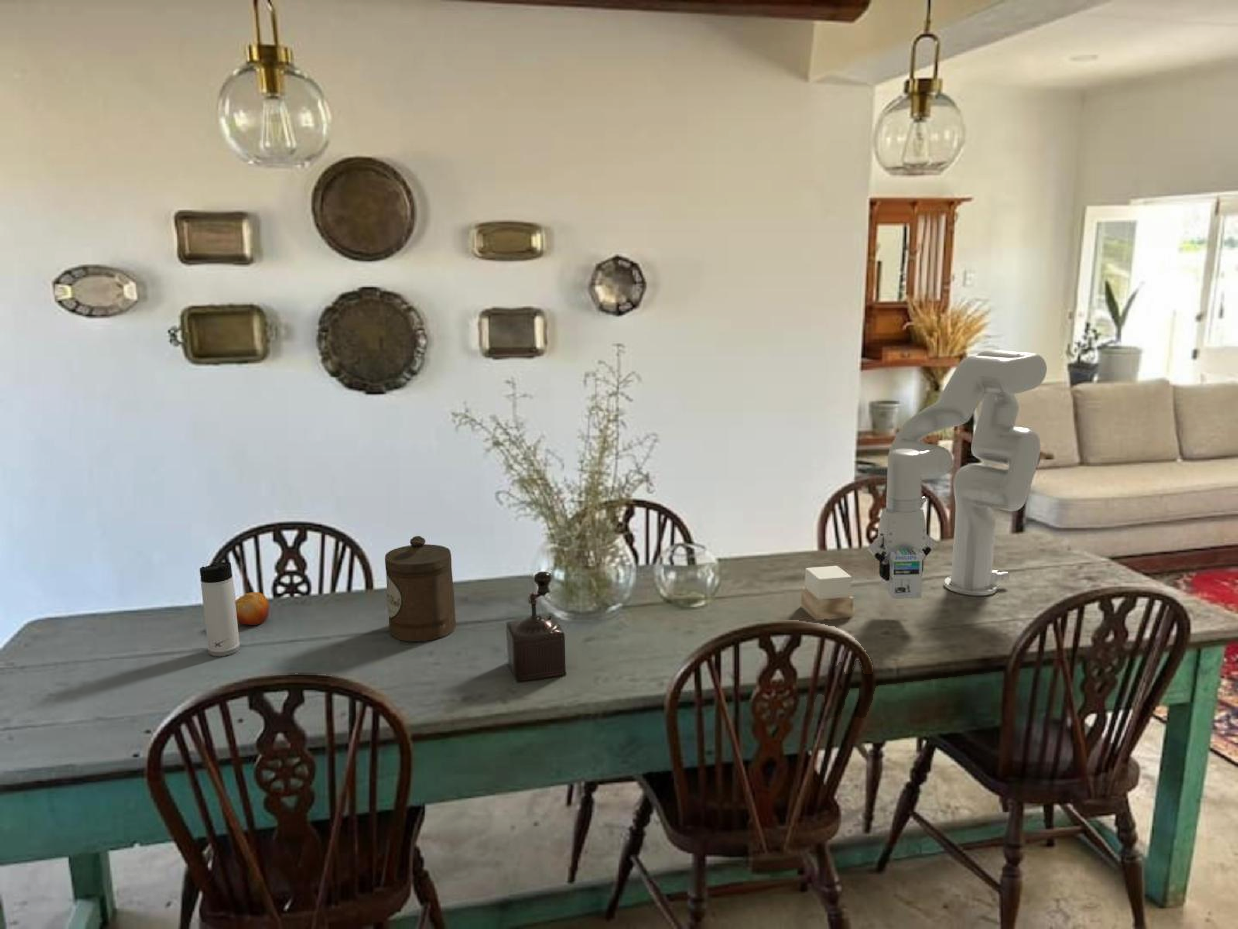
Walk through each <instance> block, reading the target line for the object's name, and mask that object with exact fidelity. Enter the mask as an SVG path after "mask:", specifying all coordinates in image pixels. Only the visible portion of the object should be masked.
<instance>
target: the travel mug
mask: <svg viewBox="0 0 1238 929" xmlns="http://www.w3.org/2000/svg"><path fill="white" fill-rule="evenodd" d="M199 576H200V586H201V594H202V606H203V614H204V623H205V632H206V641H207V642H206V643H207V649H208V655H210V656H212V657H216V656H222V657H226V655H228V656H231V655H233V654H236V653H238V652H239V650H240V649H241V646H240V645H241V644H240V637H239V635H240V634H239V628H238V627H239V625H238V620H237V615H236V605H235V601H236V596H235V589H234V587H235V586H234V578H233V572H232V563H231V561H220V562H216V563H215V562H214V563H210V564H209V565H207V566H201V567H200V568H199ZM230 654H231V655H230Z"/></svg>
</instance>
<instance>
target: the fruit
mask: <svg viewBox="0 0 1238 929" xmlns="http://www.w3.org/2000/svg"><path fill="white" fill-rule="evenodd" d="M235 605H236V615H237V623H240V624H242V625H246V626H259V625H261V624H264V623H265V622H267V619H269V612H270V611H269V610H270V605H269V601H268V599H267V597H266V595H265V594H263V593H262V592H257V591H255V592H247V593H245V594H243V595H241V596H239V597H238V598H237V599H235Z"/></svg>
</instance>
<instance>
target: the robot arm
mask: <svg viewBox="0 0 1238 929" xmlns="http://www.w3.org/2000/svg"><path fill="white" fill-rule="evenodd" d="M1047 367H1048V366H1047V363H1046V360H1045V359H1044V358H1043V357H1042V356H1041V355H1039V354H1038V353H1033V352H1023V351H1021V352H1020V351H1010V350H998V349H997V350H996V349H990V350H988V349H987V350H984V351H981V352H979V353H977V354H976V355H970V356H967V357H964V358H963V359H961V360H960V361H959V363H958V365H957V366H956V367H955V369H954V371H953V373H952V375H951V376H950V378H949V380H948V382H947V383H946V385H945V387H944V388H943V390H942V392H941V394H940V396H939V397H938V399H937V400H936V402H935V403H932V404H931V405H929V406H928V407H926V408H924V409H922V410H921V411H919V412H917V413H916V414H914V415H913V416H912V417H911V418H909V419H907V421H906V422H904V424H902V426H901V427H900V429H899V431H898V433H897V434H896V436H895V437H894V439H893V440H892V443H891V445H890V447H889V451H888V456H887V471H886V472H887V473H886V474H887V475H886V476H887V477H886V503H885V504H886V506H885V507H883V508H882V511H881V514H880V517H879V523H878V529H877V530H878V531H877V538H876V539H874V541H873V542H871V544H870V545H868V546H867V549H868V551H869V552H870V553H871V554H872V556H873V557H874V558H876V560H877V561H879V563H878V564H879V566H878V569H879V570H878V572H879V573H878V574H879V576H880V578H881V579H882V578H883V579H884V580H886V581H889V576H890V565H889V564H888V561H889V559H890V553H891V552H892V551H898V550H909V549H918V550H919V551H920V552H921V553H922V554H923V559H922V573H923V572H924V562H925V560H926V559H927V556H928V555H929V554H930V553H931V552H932V549H933V548H934V547H935V545H936V544H937V540H936V539H934V538H933V537H931V536H930V535H929V534H928V533H927V530H926V529H927V528H926V527H927V526H926V517H925V512H924V509H923V508H922V504H923V503H926V502H927V498H926V496H922V489H923V488H922V486H923V485H922V484H923V480H933V479H934V480H935V479H939V478H942V477H943V476H945V475H947V474H948V472H950V470H951V468H952V466H953V455H952V454H951V451H949V449H947V447H946V448H945V446H944V447H943V446H941V445H937V444H932V443H926V442H920V441H921V440H923V439H924V438H926V437H928V436H929V435H931V434H933V433H935V432H939V431H943V430H947V429H951V428H955V427H958V426H962V425H964V424H966V423H968V422H969V421H970V419H971V418H972V416H973V415H974V413H975V411H976V409H977V408H978V405H979V404H980V402H982V404H981V407H980V411H979V415H978V418H977V422H976V426H975V430H974V433H973V437H972V441H971V446H970V448H971V449H970V450H971V453H972V455H973V457H975V458H976V459H978V460H982V461H985V462H989V463H995V464H999V465H1006V466H1008V468H1007V469H1002V468H997V467H993V466H987V465H982V464H968V465H967V464H966V465H963V466H961V467H960V468H959V469H958V470H957V471H956V473H955V475H954V478H953V493H954V501H955V503H954V504H955V515H954V516H955V519H954V534H953V548H952V560H951V561H952V562H951V574H950V576H948V577H946V578H944V580H943V585H944V587H945V588H946V589H947V590H950V591H952V592H954V593H957V594H961V595H967V596H977V597H978V596H979V597H980V596H981V597H982V596H989V595H993V594H995V593H996V592H997V591H998V585H997V583H996V582H998V581H1000V580H1001V581H1005V580H1009V578H1010V574H1009V572H1008V571H1002V572H1001V571H1000V572H999V571H998V570H996V569H995V570H993V560H994V549H995V537H996V526H997V523H996V517H995V514H994V512H993V509H997V510H1004V511H1009V512H1016V511H1019V510H1020V509H1021V508H1022V507H1024V505H1025V504H1026V502H1027V499H1028V496H1029V494H1030V490H1031V487H1032V483H1033V480H1034V476H1035V473H1036V470H1037V466H1038V463H1039V459H1040V455H1041V454H1040V453H1041V440H1040V437H1039V434H1038V433H1037V432H1036V431H1034V430H1032V429H1031V428H1027V427H1020V426H1016V423H1017V422H1016V421H1017V417H1018V413H1019V402H1018V399H1017V397H1016V395H1017V394H1020V393H1025V392H1028V391H1032V390H1034V389H1036V388H1038V387H1040V386H1041V384H1042V383H1043V382H1044V380H1045V378H1046V375H1047V370H1048V369H1047ZM981 400H982V401H981ZM992 508H993V509H992ZM878 549H881V550H880V552H879V551H878Z"/></svg>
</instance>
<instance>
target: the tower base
mask: <svg viewBox="0 0 1238 929" xmlns="http://www.w3.org/2000/svg"><path fill="white" fill-rule="evenodd" d="M800 598H801V599H800V600H801V601H800V602H801V603H800V607H801V608H802V609H803V610H804V611H805V612H806V613H807V614H808V615H809V616H810V617H812V618H813V619H814V620H815V621H816V622H817V621H825V620H824V619H828V620H836V619H846V618H847V619H848V617H849V618H853V615H854V614H853V610H854V597H853V595H852V596H851V597H845V598H833V599H821V600H818V599H817V598H816V597H815V596H814V595H812V594H811V593H810V592H809V591H808V590H807V589H806V588H805V587H801V597H800Z"/></svg>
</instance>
